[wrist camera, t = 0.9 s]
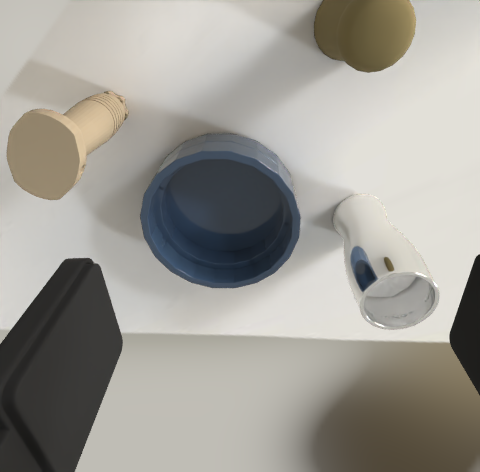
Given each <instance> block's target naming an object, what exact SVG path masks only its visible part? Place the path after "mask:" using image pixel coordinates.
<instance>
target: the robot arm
mask: <svg viewBox="0 0 480 472" xmlns="http://www.w3.org/2000/svg"><path fill="white" fill-rule="evenodd" d="M122 343H123V342H122V336H121V332H120V329H119V326H118V323H117V319H116V316H115V313H114V310H113V306H112V303H111V300H110V297H109V293H108V290H107V287H106V284H105V280H104V277H103V274H102V271H101V268H100V266H99V264H94V263H93V261H92V260H91V259H90V258H73V259H65V260H64V261H63V262H62V264H61V265H60V266H59V268H58V269H57V270H56V272H55V273H54V274H53V276H52V277H51V278H50V280H49V281H48V282H47V283H46V285H45V286H44V287H43V289H42V290H41V291H40V293H39V294H38V295H37V297H36V298H35V299H34V301H33V302H32V303H31V304H30V306H29V307H28V308H27V310H26V311H25V312H24V314H23V315H22V316H21V318H20V319H19V320H18V322H17V323H16V324H15V326H14V327H13V328H12V329H11V331H10V332H9V333H8V335H7V336H6V337H5V339H4V340H3V341H2V343H1V344H0V472H75V469H76V467H77V464H78V461H79V459H80V456H81V454H82V451H83V449H84V446H85V443H86V441H87V438H88V436H89V433H90V431H91V428H92V426H93V423H94V420H95V418H96V415H97V413H98V410H99V408H100V405H101V402H102V400H103V397H104V395H105V392H106V390H107V387H108V384H109V382H110V379H111V377H112V374H113V372H114V369H115V366H116V364H117V361H118V359H119V356H120V354H121V351H122ZM450 344H451V347H452V349H453V351H454V352H455V354H456V356H457V357H458V359H459V361H460V363H461V364H462V366H463V368H464V369H465V371H466V373H467V374H468V376H469V378H470V380H471V381H472V383H473V385H474V386H475V388H476V390H477V391H478V393H479V395H480V255H478V256H477V257H476V258H475V261H474V264H473V267H472V269H471V272H470V275H469V278H468V281H467V284H466V287H465V290H464V293H463V296H462V299H461V302H460V305H459V308H458V311H457V314H456V317H455V320H454V323H453V325H452V328H451V331H450Z"/></svg>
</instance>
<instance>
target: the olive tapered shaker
mask: <svg viewBox="0 0 480 472" xmlns="http://www.w3.org/2000/svg"><path fill="white" fill-rule="evenodd" d="M415 26H416V17H415V13H414V8H413V6H412V5H411V3H410V1H409V0H323V2H322V4H321V5H320V7H319V9H318V11H317V14H316V18H315V22H314V36H315V39H316V42H317V45H318V47H319V48H320V49H321V50H322V52H323V53H324V54H325V55H327V56H328V57H330V58H332V59H335V60H340V61H345V62H346V63H347V64H348V65H350V66H351V67H353V68H354V69H356V70H358V71H363V72H368V73H369V72H376V71H381V70H383V69H385V68H388V67H390V66H392V65H393V64H394V63H396V62H397V61H398V60H399V59H400V58H401V57H403V55H404V54H405V52H406V51H407V49H408V48H409V47H410V45H411V42H412V39H413V37H414V34H415Z"/></svg>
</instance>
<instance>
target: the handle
mask: <svg viewBox="0 0 480 472" xmlns="http://www.w3.org/2000/svg"><path fill="white" fill-rule="evenodd" d="M127 116H128V110H127V109H126V106H125V99H124V97H123V96H118V95H116V94H114V93H113V92H112V91H106V92H104V93H103V94H97V95H93V96H91V97H88V98H86V99H84V100H82V101H80V102H79V103H77V104H76V105H75V106H73V107H72V108H71V109H69V110H68V111H67V112H66V113H64V114H63V115H62V114H60V113H57V112H55V111H52V110H47V109H35V110H31V111H29V112H27V113H25V114H24V115H23V116H22V117H21V118H20V119H19V120H18V121H17V122H16V124H15V125H14V126H13V128H12V129H11V131H10V134H9V138H8V145H7V161H8V165H9V167H10V170H11V173H12V176H13V179H14V181H15V182H16V183H17V184H18V185H19V186H20V187H21V188H22V189H23V190H25V191H27V192H28V193H30V194H32V195H34V196H37V197H40V198H43V199H48V200H58V199H60V198H62V197H63V196H64V195H65V194H66V193H67V192H68V191H69V190H70V189H71V188H72V187H73V186H74V185H75V184H76V183H77V182H78V181H79V180H80V178H81V176H82V173H83V171H84V168H85V166H86V156H87V155H88V154H90V153H91V152H92V151H94V150H95V149H97V148H98V147H100V146H101V145H102V144H104V143H105V142H107V141H108V140H109V139H110V138H111V137H112V136H113V135H114V134H115V133H116V132H117V131H118V129H119V128H120V127H121V125H122V123H123V121H124V120H125V119H126V118H127Z"/></svg>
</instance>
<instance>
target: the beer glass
mask: <svg viewBox="0 0 480 472" xmlns="http://www.w3.org/2000/svg"><path fill="white" fill-rule="evenodd" d="M333 223H334V227H335V229H336V230H337V232H338V233H339V235H340V236H341V237H342V239H343V244H344V263H345V271H346V275H347V279H348V282H349V285H350V288H351V291H352V293H353V295H354V298H355V300H356V302H357V304H358V306H359V308H360V311H361V314H362V316H363V317H364V319H365V320H366V321H367V322H369V323H370V324H372V325H373V326H376V327H378V328H382V329H390V330H395V329H403V328H408V327H411V326H414V325H416V324H418V323H420V322H422V321H423V320H425V319H426V318H427V317H429V316H430V315H431V314H432V312H433V311H434V310H435V308H436V307H437V305H438V302H439V289H438V287H437V285H436V284H435V282H434V280H433V278H432V276H431V273H430V271H429V269H428V267H427V265H426V264H425V262H424V260H423V258H422V257H421V255H420V253H419V252H418V251H417V249H416V248H415V246H414V245H413V244H412V243H411V242H410V241H409V240H408V239H407V238H406V237H405V236H404V235H403V234H402V233H401V232H400V231H399V230H398V229H397V228H395V227H394V226H393V225H392V224H391V223H390V222H389V220H388V219H387V215H386V210H385V207H384V205H383V203H382V202H381V201H380V200H379V199H378V198H376V197H374V196H372V195H369V194H357V195H353V196H350V197H348V198H346V199H345V200H343V201H342V202H341V203H340V204H339V205H338V207H337V208H336V210H335V212H334V216H333Z"/></svg>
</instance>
